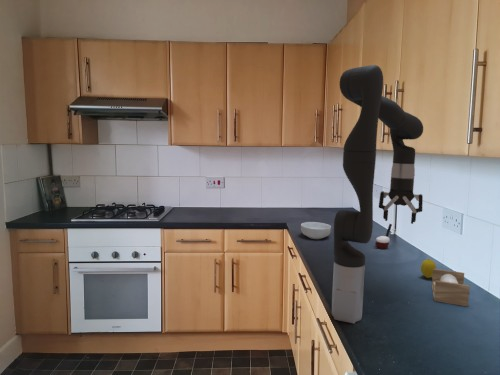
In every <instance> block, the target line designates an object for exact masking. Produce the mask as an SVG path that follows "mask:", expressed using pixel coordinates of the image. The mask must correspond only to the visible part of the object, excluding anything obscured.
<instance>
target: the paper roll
mask: <svg viewBox="0 0 500 375" xmlns="http://www.w3.org/2000/svg"><path fill="white" fill-rule="evenodd" d="M440 281H444V282H450V283H457V284H458V282H457V279H456V278H455V277H454V276H453V275H451V274H445V275H443V276H442V277H441V278H440Z"/></svg>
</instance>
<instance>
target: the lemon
mask: <svg viewBox="0 0 500 375" xmlns="http://www.w3.org/2000/svg"><path fill="white" fill-rule="evenodd" d="M433 269H437V265H436V263H435V261H434V260H431V259H430V258H428V259H424V260H422V263H421V264H420V272H421V274H422V276H424V277H425V278H426V279H430V278H433Z"/></svg>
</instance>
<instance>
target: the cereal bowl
mask: <svg viewBox="0 0 500 375" xmlns="http://www.w3.org/2000/svg"><path fill="white" fill-rule="evenodd" d="M300 231H301V232H302V234H303V235H304V236H306V237H308V238H309V239H312V240H321V239H323V238H326V237H328V236H329V235H330V234H331V232H332V226H331V225H330V224H327V223H324V222H319V221H318V222H317V221H305V222H302V223H301V224H300Z"/></svg>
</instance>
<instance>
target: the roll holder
mask: <svg viewBox="0 0 500 375" xmlns="http://www.w3.org/2000/svg"><path fill="white" fill-rule="evenodd" d="M445 274H451V275H453V276H454V277H455V278H456V279H457V282H458V284H457V283H450V282H444V281H440V278H441V277H442V276H443V275H445ZM431 278H432V279H431V281H432V282H431V290H432V295H433V296H432V297H433V300H434V302H439V303H445V304H450V305H456V306H463V307H468V306H469V300H470V299H469V297H470V288H471V286H470V284H465V283H464V280H465V272H461V271H460V272H459V271H453V270H448V269H447V270H446V269H439V268H436V269H433V277H431Z"/></svg>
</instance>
